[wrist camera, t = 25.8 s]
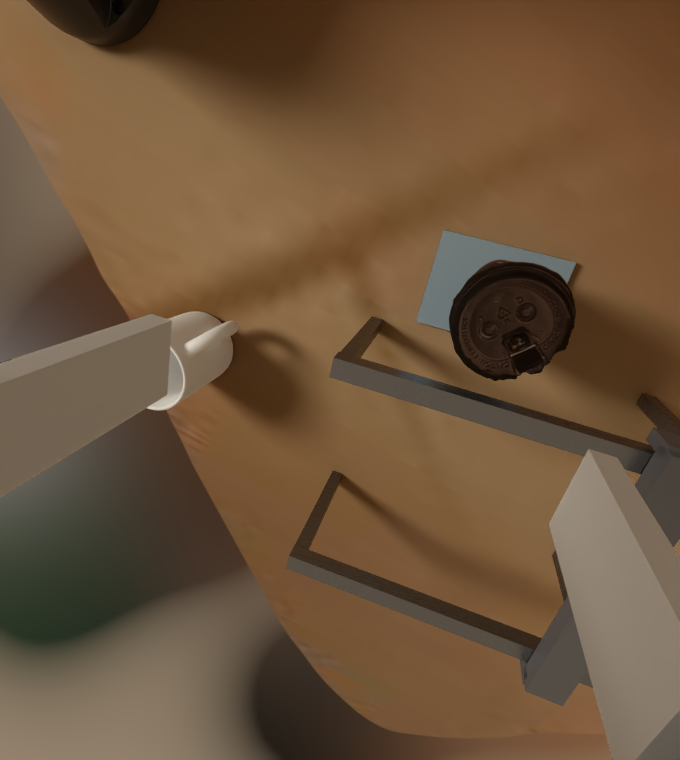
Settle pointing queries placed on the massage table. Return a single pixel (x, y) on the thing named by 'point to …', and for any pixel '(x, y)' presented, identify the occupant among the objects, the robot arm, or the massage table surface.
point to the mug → (196, 355)
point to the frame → (478, 411)
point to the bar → (561, 641)
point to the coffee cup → (511, 319)
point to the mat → (471, 271)
